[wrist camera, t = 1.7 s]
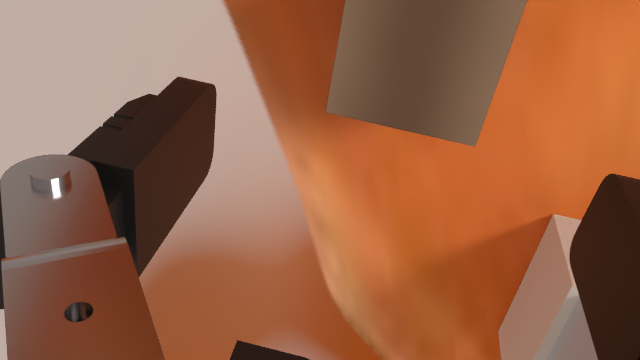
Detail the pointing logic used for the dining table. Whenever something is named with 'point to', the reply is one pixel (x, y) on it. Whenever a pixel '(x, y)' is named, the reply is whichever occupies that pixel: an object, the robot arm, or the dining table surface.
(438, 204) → the dining table surface
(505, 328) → the tower base
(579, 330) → the tower top
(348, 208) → the dining table surface
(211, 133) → the robot arm
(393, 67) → the walnut block
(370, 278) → the dining table surface
